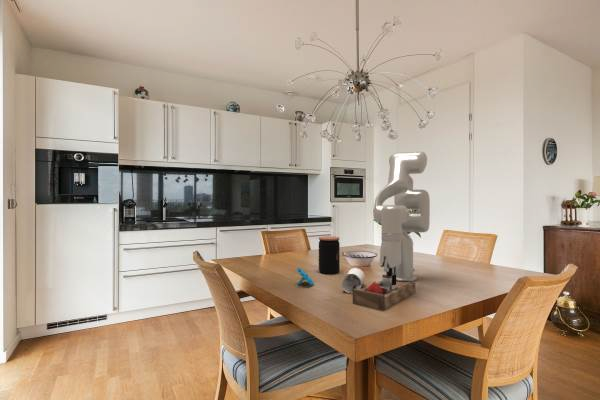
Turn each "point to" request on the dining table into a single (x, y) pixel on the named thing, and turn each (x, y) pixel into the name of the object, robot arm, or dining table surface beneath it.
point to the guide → (382, 296)
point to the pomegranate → (375, 288)
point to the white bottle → (353, 280)
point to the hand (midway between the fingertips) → (391, 284)
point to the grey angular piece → (387, 284)
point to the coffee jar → (329, 255)
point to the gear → (304, 277)
